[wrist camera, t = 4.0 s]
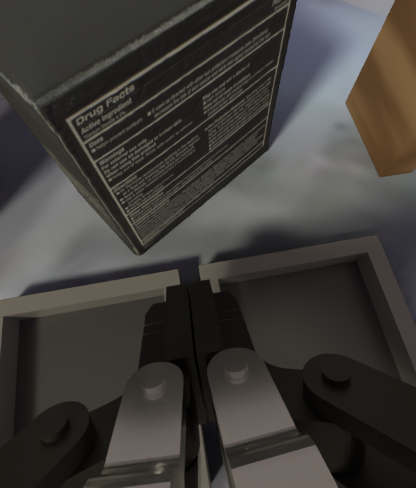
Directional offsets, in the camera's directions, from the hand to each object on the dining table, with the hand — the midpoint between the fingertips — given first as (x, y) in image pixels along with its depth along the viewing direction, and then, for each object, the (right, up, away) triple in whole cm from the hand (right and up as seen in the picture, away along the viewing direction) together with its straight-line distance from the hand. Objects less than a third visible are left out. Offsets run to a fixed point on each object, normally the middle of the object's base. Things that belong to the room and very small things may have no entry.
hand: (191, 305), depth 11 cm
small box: (-2, +7, +8) cm, 11 cm away
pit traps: (0, -4, +4) cm, 5 cm away
